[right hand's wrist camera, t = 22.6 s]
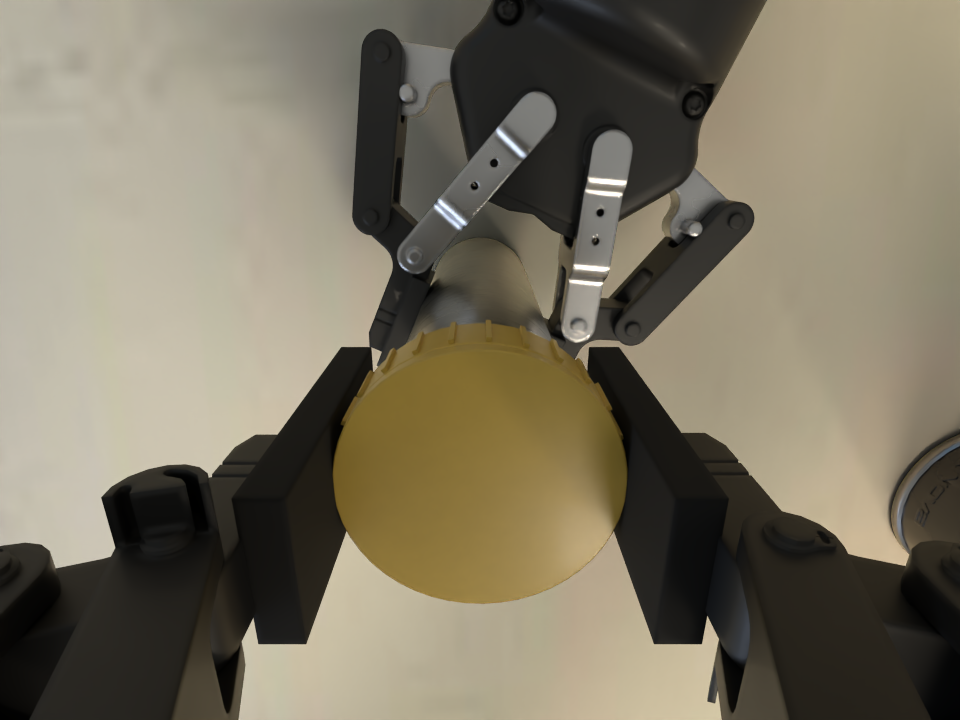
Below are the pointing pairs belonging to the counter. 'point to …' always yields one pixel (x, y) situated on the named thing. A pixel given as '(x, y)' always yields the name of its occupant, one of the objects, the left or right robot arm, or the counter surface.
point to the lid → (480, 465)
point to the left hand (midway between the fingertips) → (451, 385)
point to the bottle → (480, 290)
